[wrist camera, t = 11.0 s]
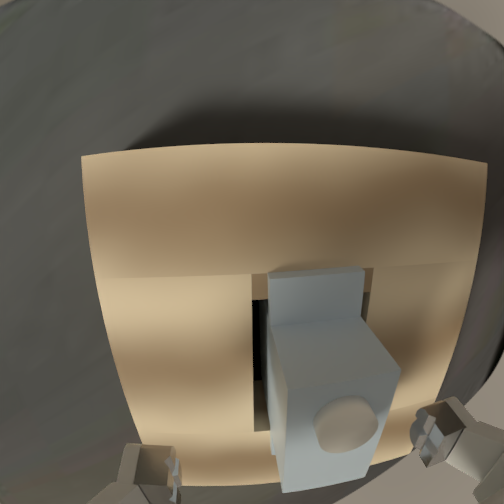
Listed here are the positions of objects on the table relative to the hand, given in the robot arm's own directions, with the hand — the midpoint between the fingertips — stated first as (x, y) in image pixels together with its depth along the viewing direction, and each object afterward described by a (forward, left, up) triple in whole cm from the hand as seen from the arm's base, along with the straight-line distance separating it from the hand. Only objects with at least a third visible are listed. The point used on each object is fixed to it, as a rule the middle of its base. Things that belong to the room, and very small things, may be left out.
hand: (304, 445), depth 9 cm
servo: (0, -1, -8) cm, 8 cm away
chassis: (0, -1, -8) cm, 8 cm away
